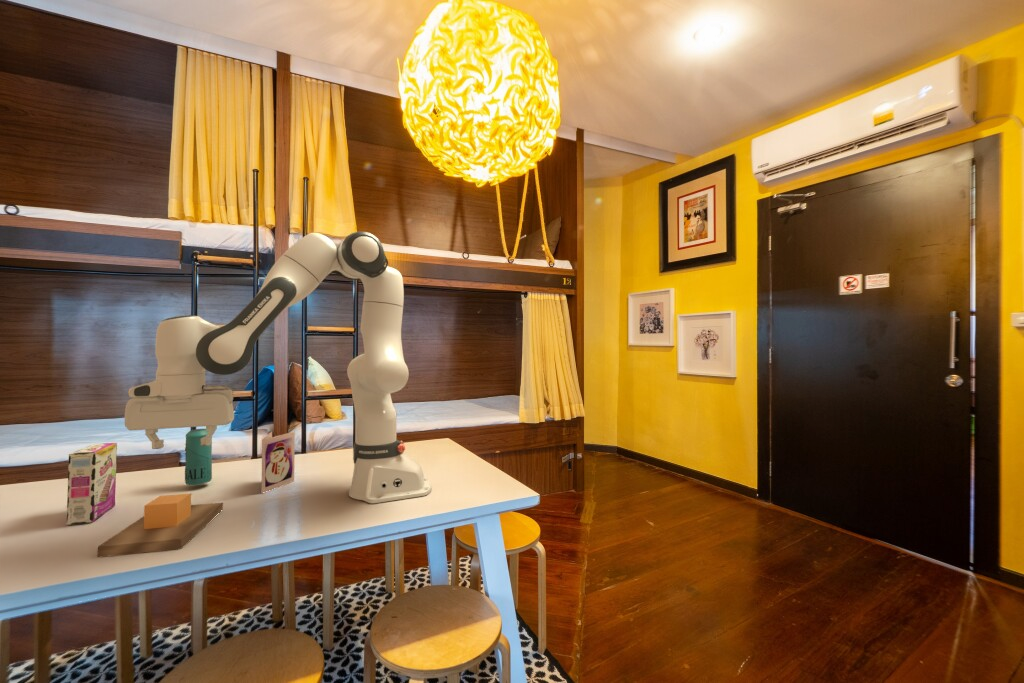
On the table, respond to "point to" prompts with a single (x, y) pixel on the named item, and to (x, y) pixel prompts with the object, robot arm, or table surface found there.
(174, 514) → the orange wooden cube
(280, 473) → the greeting card
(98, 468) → the candy bar box
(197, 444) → the beverage bottle
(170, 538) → the base plate
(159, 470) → the table surface
